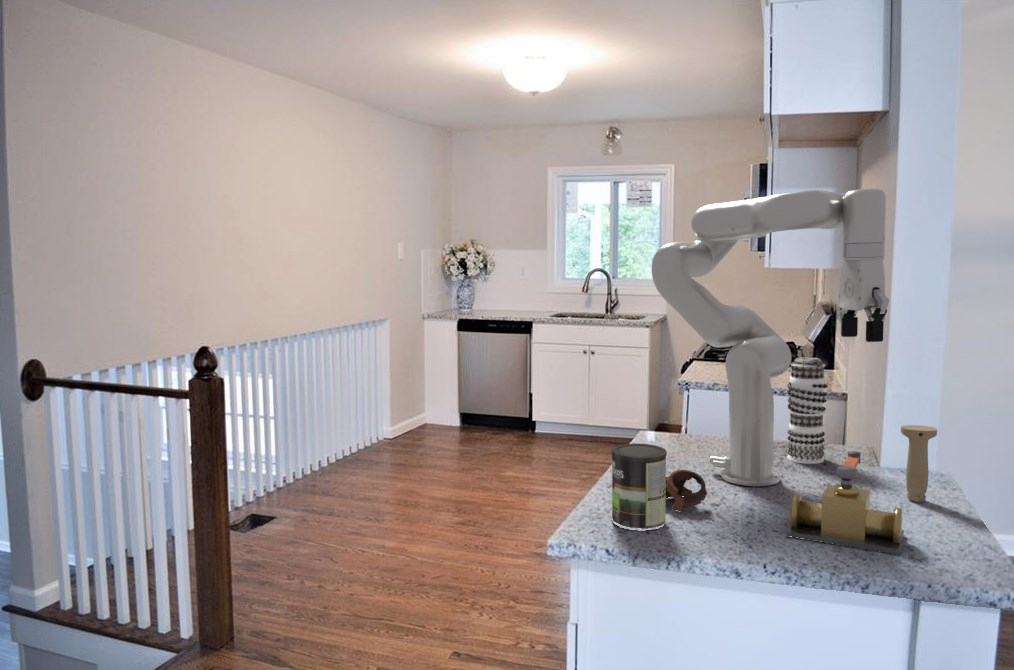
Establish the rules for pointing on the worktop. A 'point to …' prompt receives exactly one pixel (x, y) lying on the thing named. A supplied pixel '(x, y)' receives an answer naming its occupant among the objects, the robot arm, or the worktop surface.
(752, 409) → the robot arm
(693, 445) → the worktop surface
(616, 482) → the coffee can
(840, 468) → the lever
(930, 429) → the handle
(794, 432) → the white patterned cylinder
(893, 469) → the worktop surface
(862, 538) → the valve
